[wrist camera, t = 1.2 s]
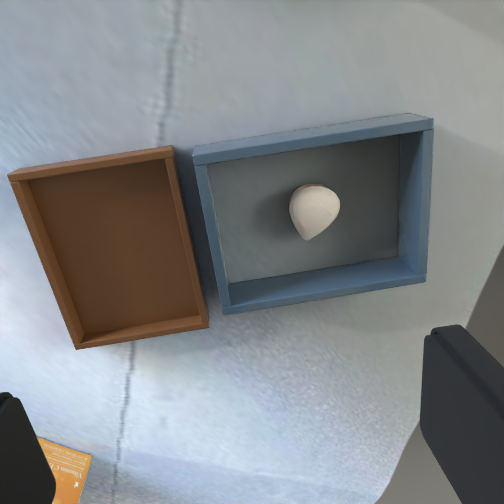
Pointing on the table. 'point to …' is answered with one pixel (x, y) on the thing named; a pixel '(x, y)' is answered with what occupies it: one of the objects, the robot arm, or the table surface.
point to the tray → (115, 245)
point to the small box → (66, 471)
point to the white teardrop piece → (313, 209)
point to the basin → (340, 277)
